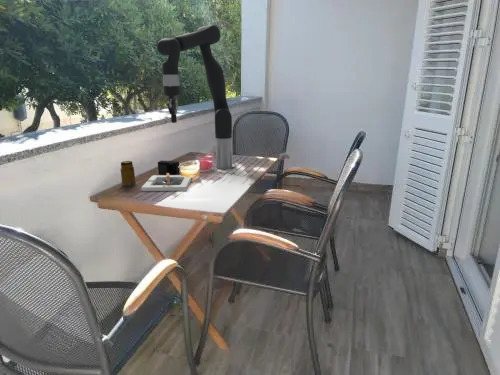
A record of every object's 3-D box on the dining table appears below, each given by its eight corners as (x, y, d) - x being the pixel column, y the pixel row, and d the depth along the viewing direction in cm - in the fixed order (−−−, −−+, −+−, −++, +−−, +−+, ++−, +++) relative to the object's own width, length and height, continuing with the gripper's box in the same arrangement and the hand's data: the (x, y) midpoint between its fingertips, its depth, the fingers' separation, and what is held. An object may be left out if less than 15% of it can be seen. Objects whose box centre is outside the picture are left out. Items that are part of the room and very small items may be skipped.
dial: (156, 182, 173) (155, 170, 171) (179, 180, 176) (178, 168, 174) (156, 189, 162) (155, 176, 160) (181, 187, 164) (180, 175, 162)
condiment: (124, 184, 173) (122, 160, 169) (142, 184, 173) (139, 160, 169) (119, 188, 166) (116, 163, 162) (137, 188, 166) (134, 163, 162)
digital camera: (157, 175, 188) (156, 162, 186) (162, 172, 193) (161, 160, 191) (175, 176, 186) (174, 163, 184) (179, 173, 191) (178, 161, 189)
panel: (192, 179, 179) (192, 174, 178) (186, 192, 160) (185, 186, 159) (152, 180, 179) (152, 175, 178) (142, 192, 160) (141, 186, 159)
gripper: (166, 84, 170) (169, 121, 176) (160, 85, 158) (163, 124, 163) (181, 84, 170) (184, 120, 176) (177, 85, 158) (179, 124, 163)
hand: (174, 122), depth 169 cm, fingers closed
